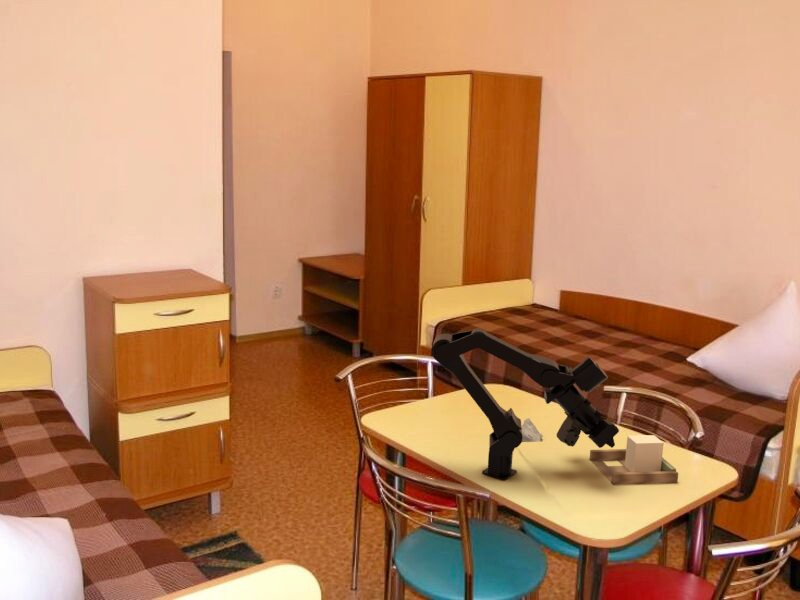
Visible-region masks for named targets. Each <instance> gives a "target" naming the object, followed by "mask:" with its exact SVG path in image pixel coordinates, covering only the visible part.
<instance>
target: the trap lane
mask: <svg viewBox="0 0 800 600" xmlns="http://www.w3.org/2000/svg"><path fill="white" fill-rule="evenodd" d="M625 457H626V448H625V449H624V448H621V449H620V448H619V449H618V448H616V449H612V448H611V449H590V451H589V460H590V462H591V463H592V464H594V466H595V467H596V468H597V469H598V470H599V471H600V473H602V475H603V476H605V478H606V479H607V480H608V481H609V482H610V483H611V484H612V485H613V486H615V485H616V486H619V485H624V486H626V485H654V484H655V485H659V484H660V485H663V484H678V481H679V480H678V479H679V472H678V471H677V468H676V467H674V466H673V465H672V464H671V463H670V462H668V461H667V459H665V458H664V457H663V456H662V463H661V471H659V472H630V471H629V470H628V469H627V468H626V467H625ZM608 461H609V462H613V461H614V462H616V461H617V462H618V463H620V465H608V464H606V463H605V462H608Z"/></svg>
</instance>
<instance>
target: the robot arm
mask: <svg viewBox="0 0 800 600" xmlns="http://www.w3.org/2000/svg"><path fill="white" fill-rule="evenodd" d="M475 349H480V350H482V351H484V352H485V353H488V354H489V355H492V356H493V357H495V358H497V359H500V360H501V361H503V362H505V363H507V364H509V365H510V366H511V365H512V367H513V366H514V367H515V368H517V369H518V370H520V371H522V372H523V373H525V374H526V375H527V377H529V378H530V379H531V380H533V382H535V383H536V384H538V386H540V387H542V388H544V394H543V399H544V401H545V403H546V404H547V405H548V404H550V403H552V402H553V401H555V402H556V403H557V404H558V405H559V406H560V407H561V409H563V411H564V414H565V415H566V418H564V421H563V422H562V423H561V425H560V427H559V429H558V430H557V432H556V438H557V439H558V440H559V441H560V442H561V443H563V444H565V445H566V446H568V447H573V448H574V447H575V445H576V444H577V442H578V440H579V439H580V436H581V433H583V434H585V435H587V437H588V438H589V440H591V442H593V443H594V444H595V445H596V446H597V447H598V448H600V449H602V448H603V447H605V445H606V446H609V447H610V448H611V449H612V448H614V447H615V440H614V437H615V436H616V435H617V434H618V433H619V432H620V429H619V428H618V427H617V425H616V424H614V422H612V421H611V420H610V419H605V418H604V416H603V415H602V413H600V411H598V410H597V409H596V408H595V407H594V405H592V402H590V400H589V399H588V398H587V397H586V396H584V395H583V393H582V392H585V393H587V392H588V393H591V392H592V391H593V390H595V389H596V388H597V387H599V385H601V384H602V383H604V382H605V381H606V380H608V379H609V376H608V375H607V373H606V372H605V371H604V369H602V367H601V366H600V365H599V364H598V363H597V362H595V360H593V359H592V358H591V357H590V356H589V355H587V356H586V357H585V358H583V360H582V361H581V362H580V363H579V364H577V365H575V367H573V368H572V367H570V366H566V365H562V364H558V363H557V362H556V360H554V359H552V358H548V357H545V356H541V355H539V354H538V355H537V354H531V353H529V352H527V351H524V350H522V349H520V348H518V347H516V346H514V345H512V344H510V343H509V342H507V341H504V340H503V339H501V338H498V337H497V336H495V335H493V334H491V333H488V332H487V331H485V330H484V329H483V328H481V327H477V328H473V329H470V330H465V331H460V332H455V333H451V334H450V333H441V334H438V335H437V336H436V337H435V338H434V341H433V344H432V346H431V355H432V357H433V359H434V360H435V361H436V362H437V363H438V364H440V366H442V367H443V368H444V369H445V370H447V371H449V372H450V373H452V375H454V376H455V378H456V379H457V381H458V382H459V383H460V384H461V386H462V387H463V388H464V389H465V390H466V392H467V393H468V395H469V396H470V397H471V398H472V400H473V401H474V402H475V404H476V405H477V406H478V407H479V409H480V410H481V411H482V413H483V414H484V415H485V417H486V418H487V419H488V421H489V424H490V426H491V428H492V430H493V431H492V432H491V433H490V434H489V438H488V439H489V441H488V442H489V443H488V445H489V446H488V447H489V448H488V454H487V455H488V458H487V468H485V469H483V470H481V473H482V474H484V475H485V476H489V477H493V478H495V479H499V480H501V481H506V480H508V479H509V478H511V477H512V476H514V475H515V474H517V473H518V470H517V469H513V468H512V467H513V455H514V451H515V449H516V448H518V447H519V446H520V445H521V444H522V439H523V436H522V420H521V418H519V417H518V416H517V415H516V414H515V411H514V410H513V408H512V407H510V408H509V409H508V410H506V409H504V408H503V407H502V406H501V405H500V404H499V403H498V401H497V400H496V399H495V398H494V396H493V395H492V394H491V392H490V391H489V390H488V389H487V387H486V386H485V385H484V383H483V382H482V380H481V379H480V378H479V377H478V376H477V375H476V373H475V371H474V370H473V369H472V368H471V366H470V365H469V364H468V362H467V361H466V358H465V356H464V355H465V354H466V353H468V352H470V351H473V350H475ZM575 385H576V386H575ZM577 387H578V388H579V389H578V388H577ZM580 391H581V392H580Z"/></svg>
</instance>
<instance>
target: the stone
mask: <svg viewBox="0 0 800 600" xmlns="http://www.w3.org/2000/svg"><path fill="white" fill-rule="evenodd" d="M521 426H522V436H523V439H522V442H523V443H539V442H541V441H542V439H543V437H544V435H543V434H542V433H540V431H539V430H538V429H537V427H536V425H535V424H534V423H533V422H532V420H531V418H525V419H524V421H523V423H522V424H521ZM522 442H521V443H522Z"/></svg>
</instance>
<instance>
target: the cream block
mask: <svg viewBox="0 0 800 600" xmlns="http://www.w3.org/2000/svg"><path fill="white" fill-rule="evenodd" d="M625 447H626V448H625V449H626V457H625V467H626V468H627V469H628V470H629V471H630V472H659V471H661V463H662V457H663V454H664V453H663V451H664V442H663V440H661V439H659V438H658V437H657V436H656V435H655V434H652V435H627V437H626V446H625Z"/></svg>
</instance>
